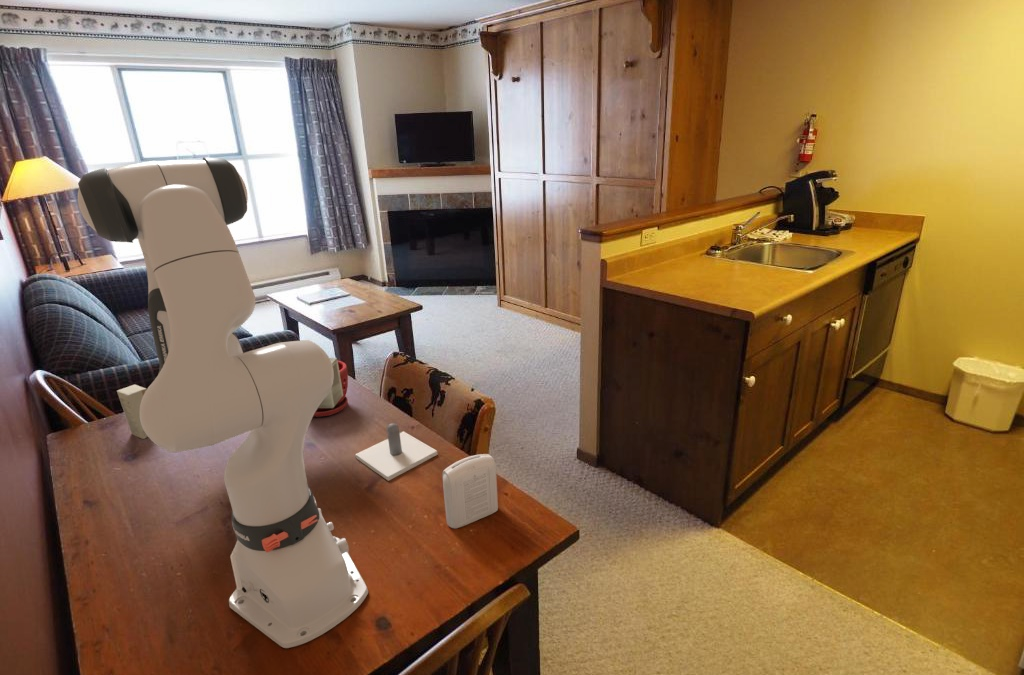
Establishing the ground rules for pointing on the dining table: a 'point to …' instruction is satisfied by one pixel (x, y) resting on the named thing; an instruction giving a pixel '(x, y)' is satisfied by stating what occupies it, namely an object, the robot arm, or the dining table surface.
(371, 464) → the post stand
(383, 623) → the dining table surface
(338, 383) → the sage recessed panel box
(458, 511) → the photo printer
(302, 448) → the robot arm
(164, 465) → the dining table surface
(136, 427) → the skincare box
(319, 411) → the plant pot
